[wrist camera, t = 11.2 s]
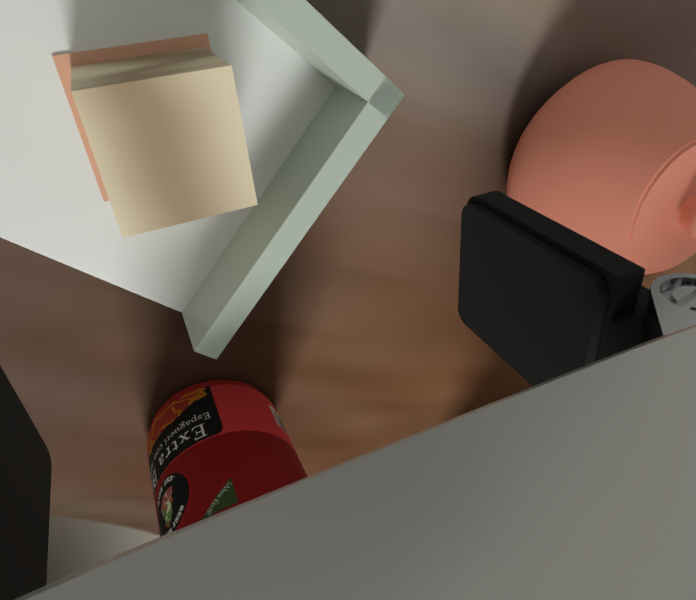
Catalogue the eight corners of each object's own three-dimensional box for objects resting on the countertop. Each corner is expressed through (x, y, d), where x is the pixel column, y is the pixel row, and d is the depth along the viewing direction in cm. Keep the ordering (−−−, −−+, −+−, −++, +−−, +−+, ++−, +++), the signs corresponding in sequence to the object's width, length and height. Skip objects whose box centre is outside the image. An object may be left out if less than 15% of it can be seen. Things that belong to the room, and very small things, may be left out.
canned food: (181, 360, 30) (226, 520, 21) (297, 392, 34) (372, 534, 26) (120, 463, 32) (139, 649, 23) (238, 480, 36) (291, 641, 28)
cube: (202, 46, 22) (231, 65, 18) (227, 166, 25) (257, 204, 21) (70, 66, 20) (71, 91, 16) (113, 191, 23) (122, 238, 19)
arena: (361, 77, 26) (404, 94, 23) (199, 313, 29) (216, 359, 25) (-80, -327, 15) (-122, -409, 12) (-273, 113, 18) (-352, 148, 15)
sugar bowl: (458, 130, 30) (600, 192, 22) (657, -8, 31) (863, 4, 23) (510, 281, 37) (628, 367, 30) (667, 168, 38) (824, 222, 30)
